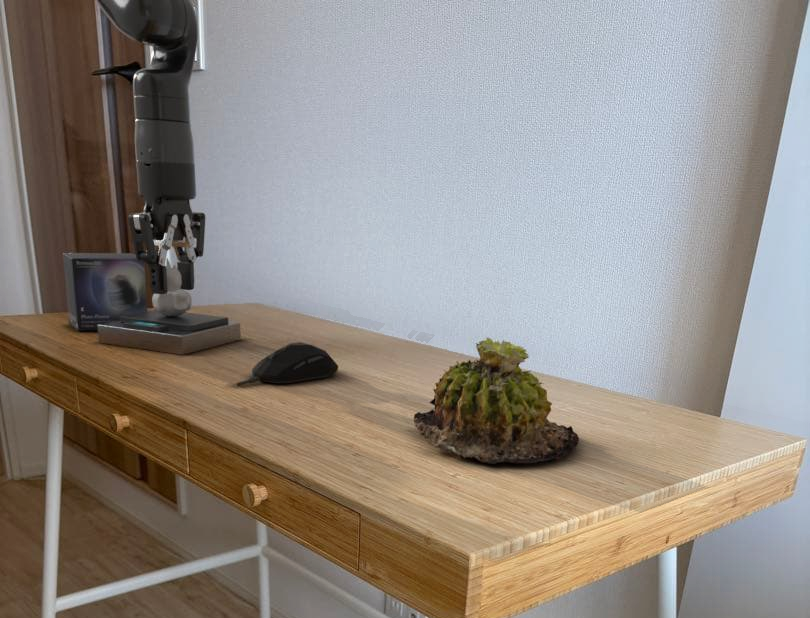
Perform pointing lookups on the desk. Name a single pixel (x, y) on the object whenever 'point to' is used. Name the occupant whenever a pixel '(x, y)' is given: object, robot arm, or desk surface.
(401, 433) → the desk surface
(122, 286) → the small box
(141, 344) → the scale
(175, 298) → the beige lumpy figurine
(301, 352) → the gaming mouse
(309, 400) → the desk surface
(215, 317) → the scale pan
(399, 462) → the desk surface
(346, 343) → the desk surface
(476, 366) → the cactus
